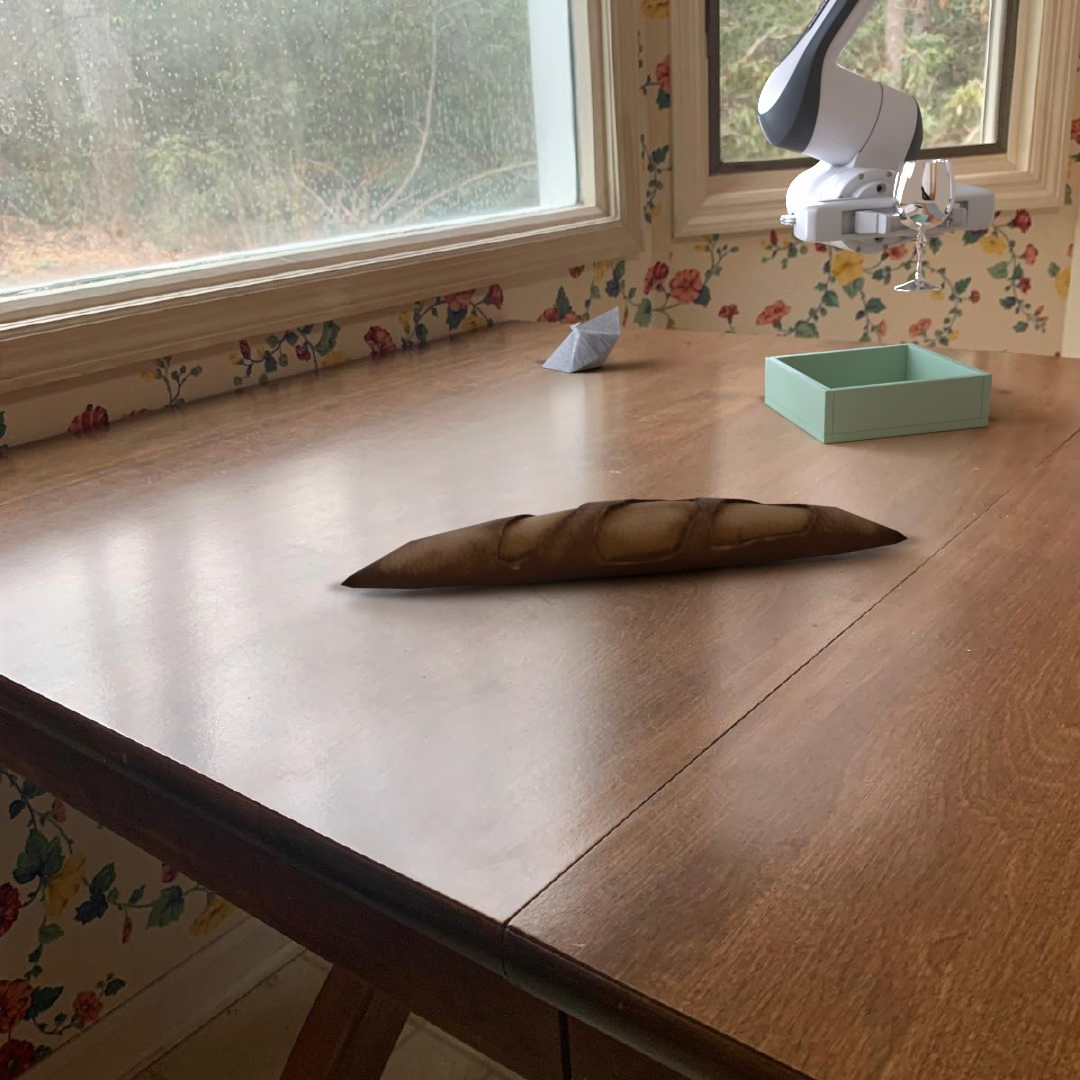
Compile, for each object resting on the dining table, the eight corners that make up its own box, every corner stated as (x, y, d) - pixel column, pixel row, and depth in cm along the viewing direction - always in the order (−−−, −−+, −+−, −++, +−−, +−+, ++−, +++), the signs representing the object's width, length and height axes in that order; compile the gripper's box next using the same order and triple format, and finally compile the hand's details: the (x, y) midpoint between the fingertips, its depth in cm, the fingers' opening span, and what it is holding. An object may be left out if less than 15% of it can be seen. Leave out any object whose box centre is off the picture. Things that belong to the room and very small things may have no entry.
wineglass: (954, 284, 109) (963, 158, 105) (941, 293, 105) (950, 162, 100) (895, 283, 112) (902, 160, 108) (881, 292, 108) (887, 164, 103)
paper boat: (544, 369, 128) (519, 337, 135) (570, 405, 132) (544, 372, 139) (627, 307, 127) (597, 277, 134) (650, 345, 131) (620, 315, 138)
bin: (909, 388, 113) (911, 342, 111) (988, 426, 99) (992, 374, 97) (764, 403, 111) (765, 357, 110) (823, 444, 97) (825, 391, 95)
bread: (337, 611, 70) (327, 538, 68) (346, 580, 75) (336, 512, 73) (921, 562, 71) (925, 490, 69) (893, 536, 76) (897, 467, 74)
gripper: (774, 188, 116) (825, 195, 103) (956, 173, 118) (1027, 179, 105) (774, 248, 118) (823, 263, 105) (952, 233, 120) (1021, 246, 108)
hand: (927, 221), depth 105 cm, fingers closed on wineglass, 5 cm apart
